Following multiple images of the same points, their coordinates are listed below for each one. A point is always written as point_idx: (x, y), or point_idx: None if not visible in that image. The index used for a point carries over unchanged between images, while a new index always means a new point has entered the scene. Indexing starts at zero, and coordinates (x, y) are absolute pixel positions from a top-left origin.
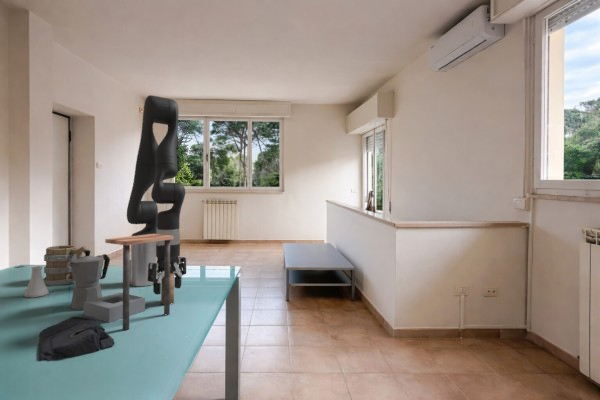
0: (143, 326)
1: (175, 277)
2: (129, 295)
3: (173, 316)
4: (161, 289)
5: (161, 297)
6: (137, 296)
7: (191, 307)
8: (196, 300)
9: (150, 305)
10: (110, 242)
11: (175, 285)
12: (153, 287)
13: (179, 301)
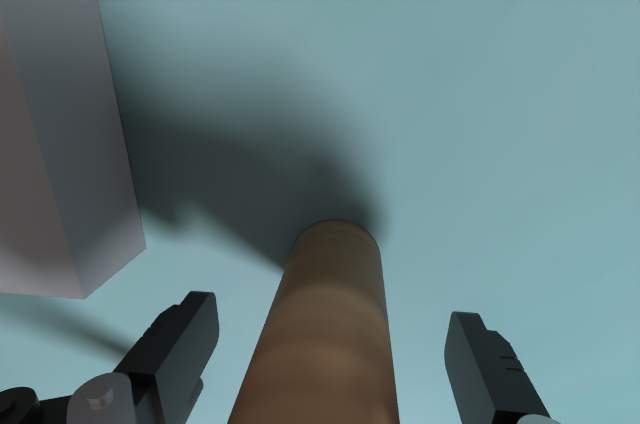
0: (36, 392)
1: (489, 421)
2: (10, 120)
3: (194, 419)
4: (270, 308)
5: (286, 266)
6: (57, 214)
7: None
8: None
9: (234, 193)
10: None
11: (458, 334)
12: (138, 341)
13: (411, 298)
